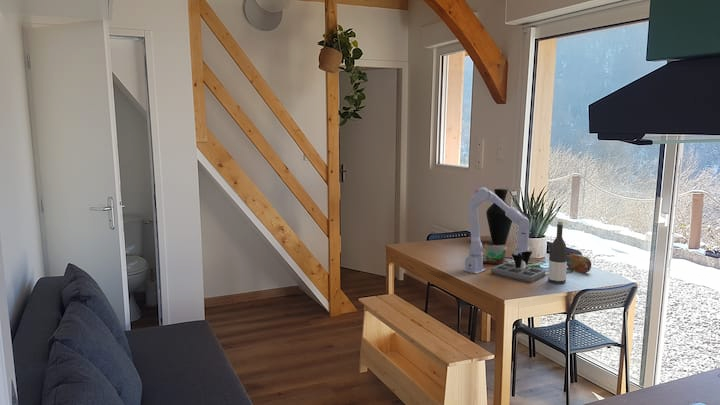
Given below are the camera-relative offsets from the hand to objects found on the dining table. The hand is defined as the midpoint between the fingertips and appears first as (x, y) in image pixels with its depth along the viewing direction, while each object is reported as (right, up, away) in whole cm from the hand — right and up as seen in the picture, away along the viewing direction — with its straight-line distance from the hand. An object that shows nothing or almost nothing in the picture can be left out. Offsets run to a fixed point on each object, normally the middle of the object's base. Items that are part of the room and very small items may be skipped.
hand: (521, 266), depth 262 cm
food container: (-9, -1, +20) cm, 22 cm away
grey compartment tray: (-2, -4, -2) cm, 5 cm away
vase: (+6, +6, +66) cm, 67 cm away
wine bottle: (+13, -6, -13) cm, 19 cm away
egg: (0, -3, 0) cm, 3 cm away
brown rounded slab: (+31, -3, +5) cm, 32 cm away
